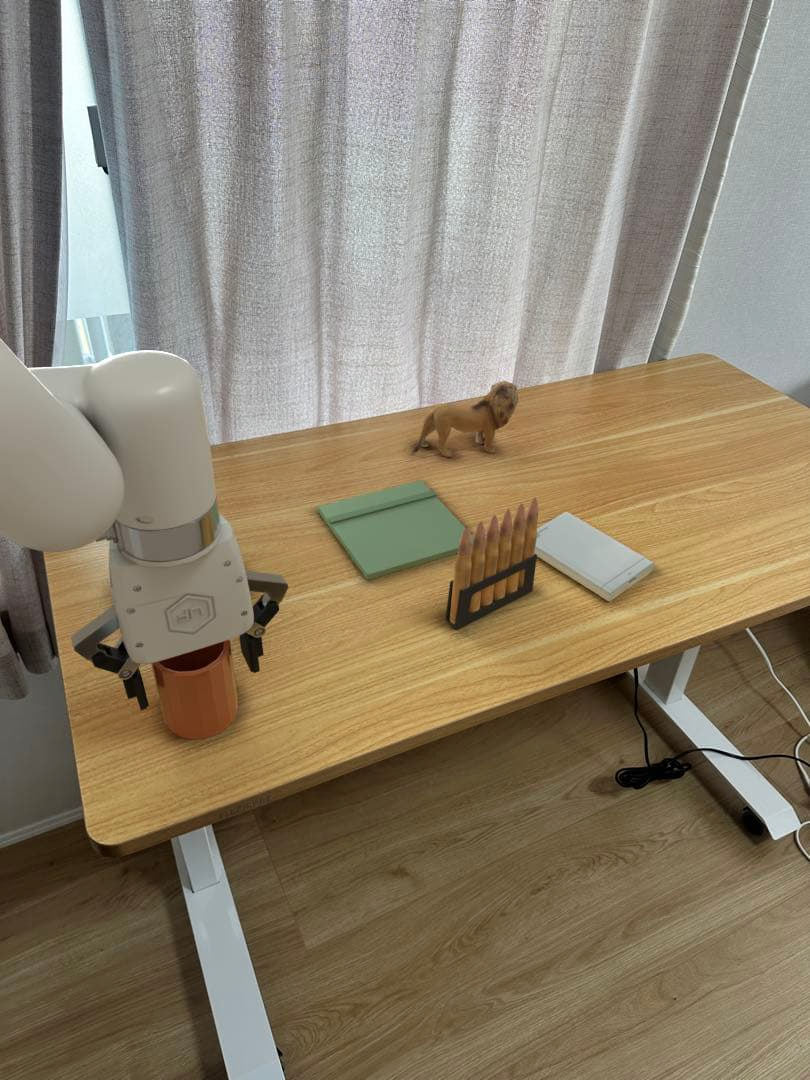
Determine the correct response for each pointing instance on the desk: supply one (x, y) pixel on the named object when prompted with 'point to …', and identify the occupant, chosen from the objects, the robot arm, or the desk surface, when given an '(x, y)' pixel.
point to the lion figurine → (472, 418)
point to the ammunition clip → (493, 566)
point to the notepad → (394, 528)
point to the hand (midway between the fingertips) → (197, 679)
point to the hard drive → (590, 556)
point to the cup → (198, 691)
